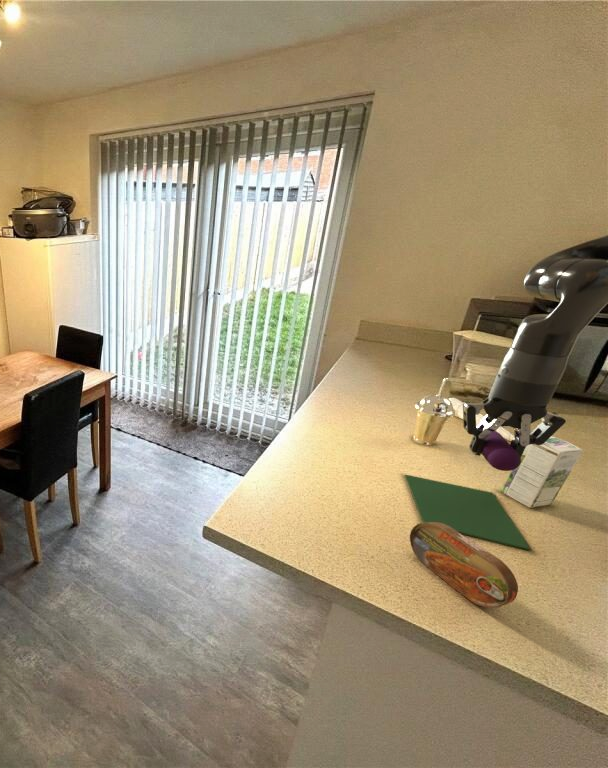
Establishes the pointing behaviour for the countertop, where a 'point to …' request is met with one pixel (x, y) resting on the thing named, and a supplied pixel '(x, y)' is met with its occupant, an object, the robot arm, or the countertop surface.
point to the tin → (464, 565)
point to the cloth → (465, 511)
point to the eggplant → (500, 453)
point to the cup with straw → (433, 415)
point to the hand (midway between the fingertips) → (492, 456)
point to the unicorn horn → (477, 418)
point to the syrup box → (542, 472)
